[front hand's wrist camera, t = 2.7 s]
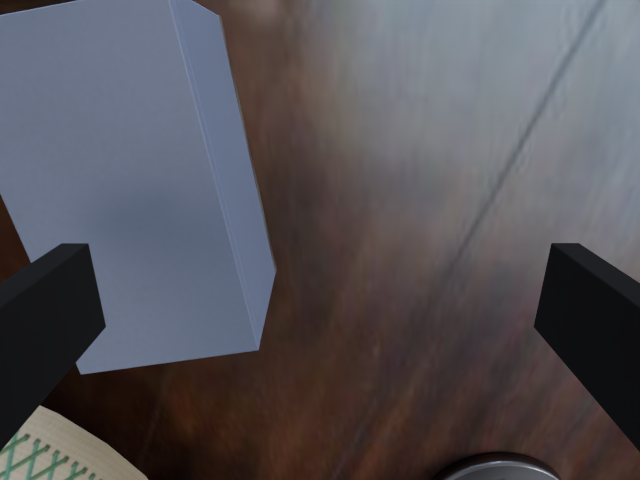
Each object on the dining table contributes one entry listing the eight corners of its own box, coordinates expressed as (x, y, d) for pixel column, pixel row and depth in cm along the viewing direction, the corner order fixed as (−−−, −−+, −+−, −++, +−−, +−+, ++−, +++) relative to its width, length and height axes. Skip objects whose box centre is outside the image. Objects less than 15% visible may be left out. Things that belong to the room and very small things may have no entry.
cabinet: (65, 45, 28) (-75, 28, 18) (221, 16, 28) (164, -17, 18) (149, 289, 35) (80, 375, 25) (276, 270, 34) (258, 350, 24)
